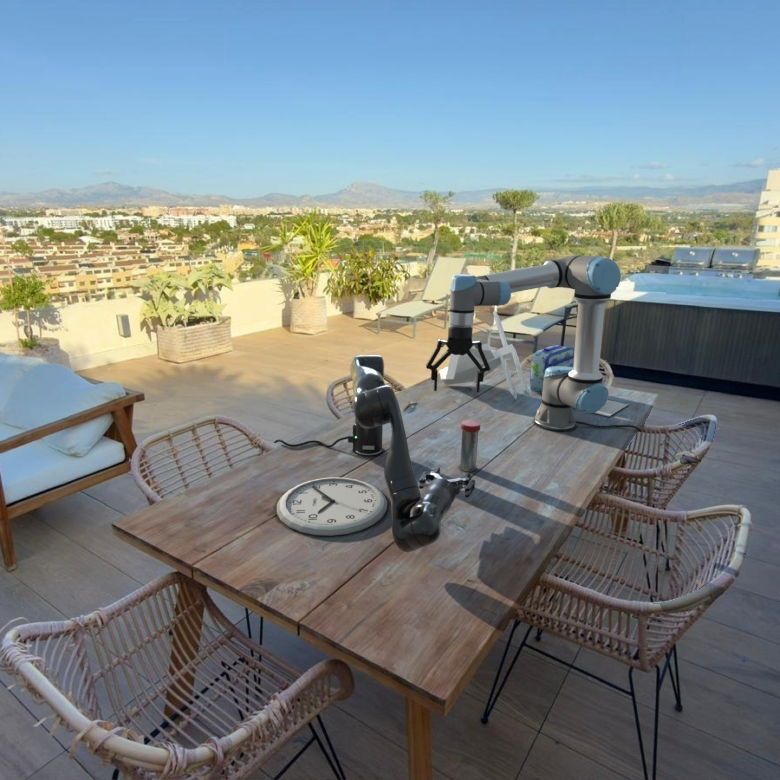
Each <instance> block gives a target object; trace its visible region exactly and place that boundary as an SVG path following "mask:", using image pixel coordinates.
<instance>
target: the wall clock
mask: <svg viewBox="0 0 780 780" xmlns="http://www.w3.org/2000/svg"><path fill="white" fill-rule="evenodd" d="M387 509H388V500H387V498H386V496H385V494H384V493H383V492H382V491H381V490H380V489H379V488H377V487H376V486H374V485H372V484H371V483H369V482H365V481H362V480H359V479H355V478H349V477H338V476H337V477H335V476H333V477H332V476H331V477H322V478H317V479H312V480H307V481H305V482H302V483H299V484H297V485H295V486H293V487H292V488H290V489H288V490H287V491H286V492H285V493H284V494H283V495H281V496H280V498H279V499H278V502H277V503H276V515H277V517H278V518H279V520H280V521H281V522H282V523H283V524H285V525H286V526H287V527H288V528H290V529H293V530H295V531H297V532H299V533H303V534H308V535H312V536H327V537H328V536H329V537H331V536H332V537H333V536H342V535H350V534H352V533H356V532H361V531H363V530H366V529H368V528H369V527H372V526H373V525H375V524H376V523H378V522H379V521H380V520H381V519H382V518H383V517H384V516H385V514H386V512H387Z"/></svg>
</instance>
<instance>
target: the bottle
mask: <svg viewBox="0 0 780 780" xmlns="http://www.w3.org/2000/svg"><path fill="white" fill-rule="evenodd" d="M461 430H462V429H461ZM478 443H479V431H478V432H466V431H464V430H462V432H461V444H460V445H461V446H460V447H461V448H460V462H459V469H460V470H461V471H463V472H465V473H467V472H469V473H472V472H475V471H476V469H477V460H478V459H477V457H478Z"/></svg>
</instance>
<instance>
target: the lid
mask: <svg viewBox="0 0 780 780" xmlns="http://www.w3.org/2000/svg"><path fill="white" fill-rule="evenodd" d="M460 425H461V427H460V429H461V430H464V431H466V432H478V433H479V432H480V430H481V422H479V421H478V420H474V419H465V420H462V421H461V423H460Z"/></svg>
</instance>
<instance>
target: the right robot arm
mask: <svg viewBox="0 0 780 780" xmlns="http://www.w3.org/2000/svg"><path fill="white" fill-rule="evenodd" d="M621 275H622V274H621V270H620V267H619V265H618V263H617V262H616V261H615V260H613V259H612V258H609V257H604V256H593V255H581V254H580V255H579V254H578V255H569V256H565V257H561V258H556V259H551V260H546V261H545V262H544V264H541V265H540V264H539V265H535V266H530V267H529V266H528V267H523V268H518V269H510V270H506V271H501V272H500V271H499V272H495V273H489V274H484V275H478V276H477V275H474V274H461V273H459V274H454V275H453V276H452V277H451V282H450V289H449V291H450V294H449V295H450V296H449V299H450V300H449V314H448V324H449V326H447V327H448V330H447V339H446V340H442V339H440V338H439V339H437V343H436V346H435V348H434V350H433V352H432V353H431V355H430V356H429V358H428V361H427V362H426V363H425V367H426V369H428V370H429V371H430V379H431V381H434V382H433V391H434V392H437V391H438V373H439V371H438V368H440V366H441V365H442V364H443V363H444V362H445V361H446V360H447V359H448V358H450V357H451V354H454V355H465V354H467V355H468V356H469V357H470V358H471V360H472V361H473V362H474V364H475V365H476V366H477V367H478V369H479V370H480V371H477V379H476V383H475V392H476V393H480V385H481V383H483V382H484V378H485V377H484V372H485V371H489V370H490V367H489V364H488V362H487V360H486V357H485V355H484V353H483V350H482V345H483V343H482V341H481V340H477V341H473V331H474V330H473V325H474V316H475V315H474V314H475V307H485V306H486V307H493V306H494V307H495V306H496V307H499V306H505V305H507V304H508V303H510V300H511V297H512V293H513V294H514V293H518V292H523V291H529V290H535V289H539V288H545V287H546V288H548V289H555V288H556V289H557V288H563V289H564V288H565V289H571V290H574V295H573V298H574V299H575V300H576V301H577V304H578V305H577V315H576V316H577V317H576V328H575V340H574V341H575V342H574V364H573V367H565V366H556V367H549V368H547V369H546V370H545V374H544V381H543V391H542V393H541V402H540V405H539V407H538V408H537V410H536V413H535V417H534V424H535V425H536V426H537V427H539V428H542V429H544V430H549V431H556V432H567V431H572V430H574V429H575V428H576V424H578V425H583V426H588V427H591V428H599V429H609V428H610V429H611V428H632V429H635V430H637V432H640V433H642V432H643V431H642V429H640V428H639V427H637V426H636V425H632V424H610V425H599V424H592V423H588V422H582V421H579V420H578V421H577V420H576V418H575V417H576V416H575V413H574V409H575V410H576V411H577V412H580V413H584V414H588V415H590V414H596V413H595V412H597V411H599V410H600V409H601V408H602V407H603V406H604V405H605V403H606V401H607V400H609V389H608V387H607V386H606V385H605V384H604V383H603V379H604V375H603V373H602V372H601V371H600V363H601V362H600V361H601V352H602V343H603V342H602V340H603V332H604V321H605V312H606V310H605V309H606V303H607V302H608V301H610V300H611V299H612V294H613V293H615V292H616V291H617V288H618V287H619V285H620V283H621V277H622V276H621ZM445 345H446V347H447V349H446V350H445V352H444V353H443V354H442V355H441V356H440V357H439V358H438V359H437V360H436V358H437V356H438V355H439V353H440V351H441V349H442V348H444V346H445ZM474 346H475V348H476V349H478V352H479V354H480V356H481V359H482V361H483V363H484V366H485V367H482V366H481V365H480V363H479V362H478V361H477V359H476V358H475V357H474V356H473V354H472V353H471V352H470V349H471V348H472V347H474ZM435 360H436V361H435Z"/></svg>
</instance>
